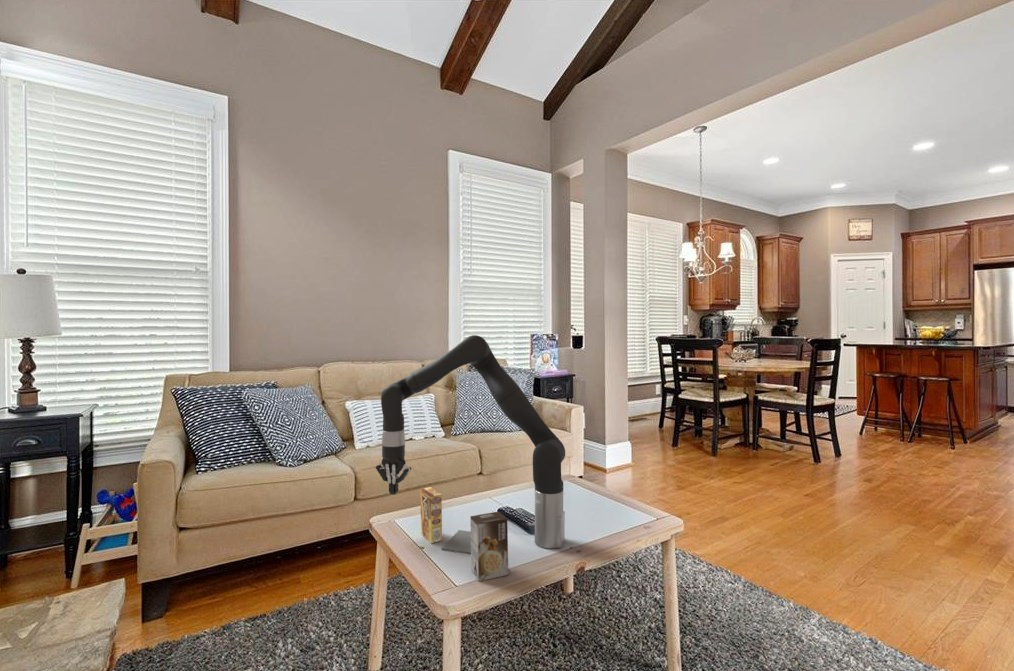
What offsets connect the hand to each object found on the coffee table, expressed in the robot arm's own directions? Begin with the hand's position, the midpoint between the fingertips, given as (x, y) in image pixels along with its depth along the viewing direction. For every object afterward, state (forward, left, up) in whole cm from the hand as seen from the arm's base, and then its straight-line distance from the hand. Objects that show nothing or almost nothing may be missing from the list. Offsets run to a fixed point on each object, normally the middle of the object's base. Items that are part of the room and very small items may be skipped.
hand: (393, 493), depth 162 cm
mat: (-29, 0, -13) cm, 31 cm away
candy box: (-14, 0, -13) cm, 19 cm away
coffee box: (-40, +16, -13) cm, 45 cm away
